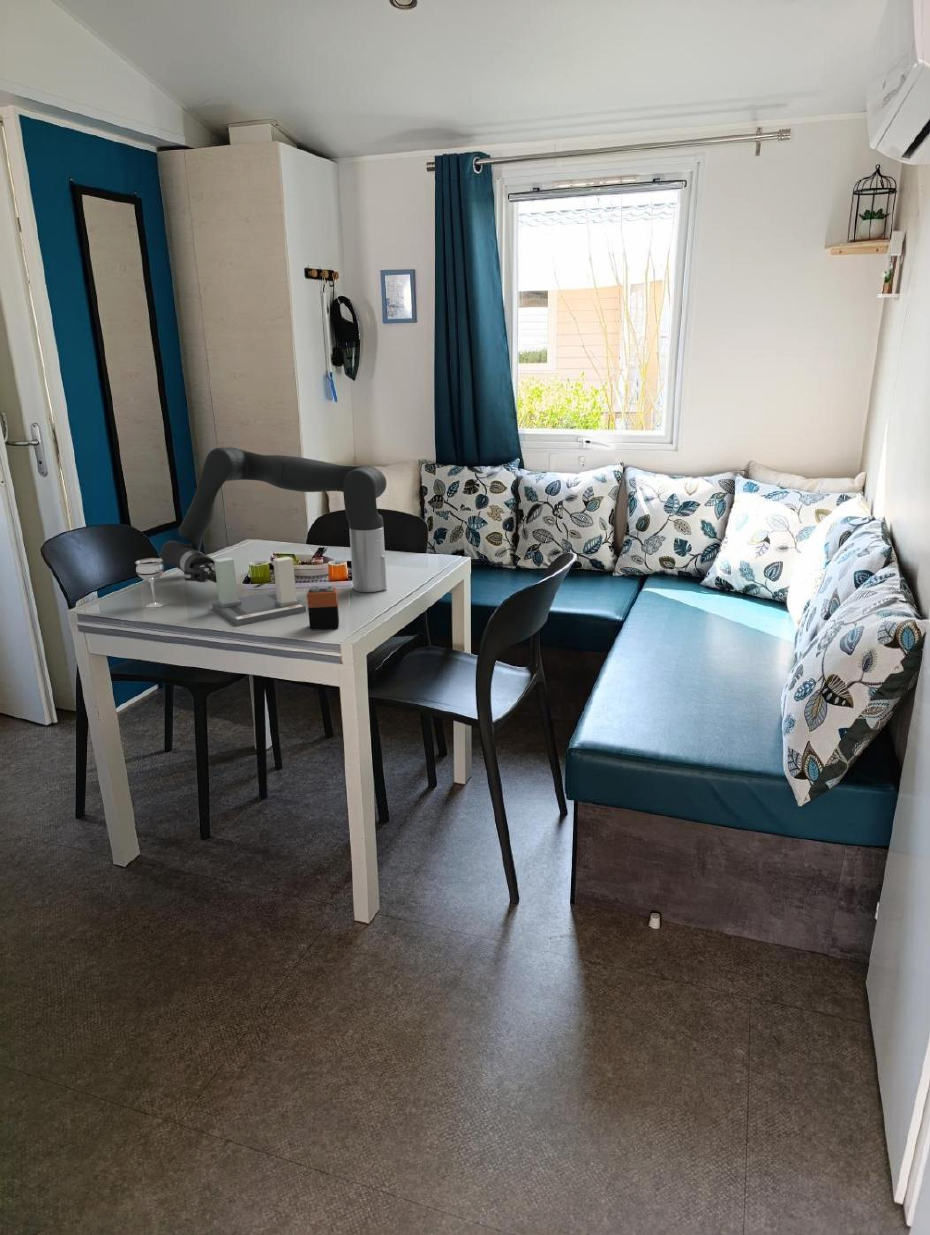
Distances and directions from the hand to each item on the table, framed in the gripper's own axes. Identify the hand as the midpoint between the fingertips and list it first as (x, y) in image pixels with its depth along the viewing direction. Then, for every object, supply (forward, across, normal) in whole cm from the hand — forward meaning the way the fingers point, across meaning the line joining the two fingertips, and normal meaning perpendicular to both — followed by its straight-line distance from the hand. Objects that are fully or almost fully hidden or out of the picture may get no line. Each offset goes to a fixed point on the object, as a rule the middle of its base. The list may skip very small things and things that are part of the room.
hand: (218, 578), depth 213 cm
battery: (+34, +14, +7) cm, 37 cm away
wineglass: (-10, -14, +7) cm, 19 cm away
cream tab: (+15, +12, +5) cm, 20 cm away
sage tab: (+6, 0, +5) cm, 8 cm away
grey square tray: (+11, +6, +7) cm, 14 cm away
